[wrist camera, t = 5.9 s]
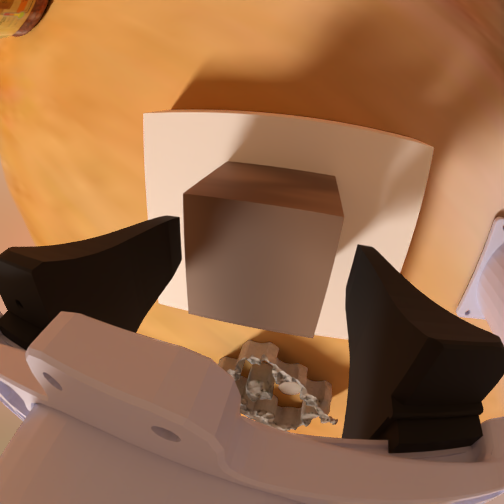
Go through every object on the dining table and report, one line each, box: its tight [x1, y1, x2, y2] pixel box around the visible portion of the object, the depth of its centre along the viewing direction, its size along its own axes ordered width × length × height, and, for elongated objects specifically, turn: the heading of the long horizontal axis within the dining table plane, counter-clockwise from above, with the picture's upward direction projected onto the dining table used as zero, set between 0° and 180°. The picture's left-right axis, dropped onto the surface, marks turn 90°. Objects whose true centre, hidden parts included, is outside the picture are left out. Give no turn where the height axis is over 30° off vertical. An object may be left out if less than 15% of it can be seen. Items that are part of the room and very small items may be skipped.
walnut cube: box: [183, 161, 344, 338], centre depth 12 cm, size 5×5×5 cm
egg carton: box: [218, 340, 338, 431], centre depth 23 cm, size 11×8×4 cm
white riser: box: [143, 109, 434, 339], centre depth 16 cm, size 14×12×3 cm
